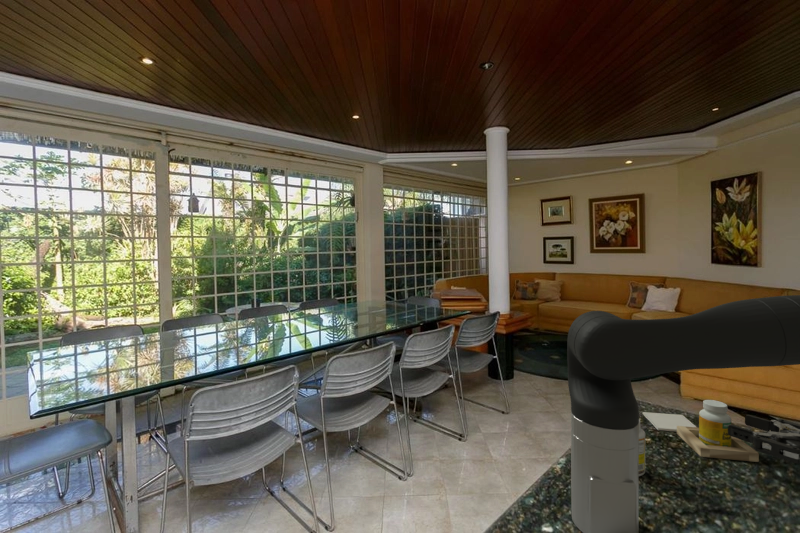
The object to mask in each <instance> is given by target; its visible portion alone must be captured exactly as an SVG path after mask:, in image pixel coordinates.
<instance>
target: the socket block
mask: <svg viewBox="0 0 800 533" xmlns="http://www.w3.org/2000/svg"><path fill="white" fill-rule="evenodd" d="M676 435H678V436H679V437H680V438H681V439H682V441H684V442H685V443H686V444H687V445H688V446H689V447H690V448H691V449H692V450H693V451H694V452H695V453H696V454H697V455H698V456H699V457H702V458H703V457H704V458H712V459H713V458H714V459H722V460H723V459H725V460H734V461H744V462H746V461H747V462H753V463H754V462H755V463H759V462H760V459H759V456H760V453H759V451H756V450H754V449H753V447H751V446H750V445H748V444H747V443H746V442H745V441H744V440H741V439H738V438H735V437H732V436H731V447H724V446H713V445H705V444H704V443H703V442H702V441H701V440H699V426H696V427H685V426H677V432H676Z"/></svg>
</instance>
